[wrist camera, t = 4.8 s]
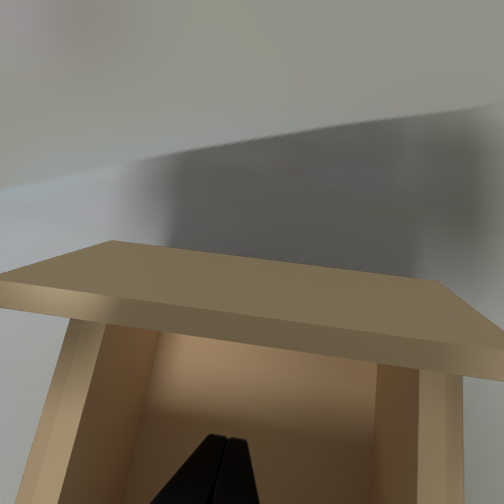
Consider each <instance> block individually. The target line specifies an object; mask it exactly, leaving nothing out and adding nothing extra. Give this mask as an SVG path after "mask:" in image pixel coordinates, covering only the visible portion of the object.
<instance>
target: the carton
mask: <svg viewBox="0 0 504 504" xmlns="http://www.w3.org/2000/svg"><path fill="white" fill-rule="evenodd" d="M210 433H214V434H220V435H225V436H227V438H229V437H238V438H243V439H246V440H247V442H248V446H249V451H250V456H251V461H252V466H253V471H254V476H255V481H256V486H257V491H258V496H259V501H260V504H464V453H463V385H462V375H455V374H448V373H442V372H435V371H428V370H421V369H414V368H407V367H401V366H394V365H387V364H380V363H373V362H367V361H360V360H353V359H346V358H339V357H332V356H326V355H319V354H312V353H305V352H298V351H292V350H285V349H278V348H271V347H264V346H258V345H251V344H244V343H237V342H230V341H223V340H217V339H210V338H203V337H196V336H189V335H183V334H176V333H169V332H162V331H155V330H149V329H142V328H135V327H128V326H121V325H114V324H108V323H101V322H94V321H87V320H80V319H74V318H70V321H69V324H68V328H67V331H66V334H65V338H64V341H63V344H62V348H61V351H60V354H59V358H58V361H57V364H56V368H55V371H54V374H53V378H52V381H51V384H50V388H49V391H48V394H47V398H46V401H45V404H44V408H43V411H42V414H41V418H40V421H39V424H38V428H37V431H36V434H35V438H34V441H33V444H32V448H31V451H30V454H29V458H28V461H27V464H26V468H25V471H24V474H23V478H22V481H21V484H20V488H19V491H18V494H17V498H16V501H15V504H149V503H150V502H151V501H152V499H153V498H154V497H155V496H156V495H157V494H158V492H159V491H160V490H161V489H162V488H163V487H164V485H165V484H166V483H167V482H168V481H169V480H170V478H171V477H172V476H173V475H174V474H175V473H176V471H177V470H178V469H179V468H180V467H181V466H182V464H183V463H184V462H185V461H186V460H187V458H188V457H189V456H190V455H191V454H192V453H193V451H194V450H195V449H196V448H197V447H198V446H199V444H200V443H201V442H202V441H203V440H204V439H205V437H206V436H207V435H208V434H210Z"/></svg>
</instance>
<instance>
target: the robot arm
mask: <svg viewBox="0 0 504 504" xmlns="http://www.w3.org/2000/svg"><path fill="white" fill-rule="evenodd" d="M149 504H260V501H259V496H258V491H257V486H256V481H255V476H254V471H253V466H252V461H251V456H250V451H249V446H248V442H247V440H246V439H243V438H238V437H229V438H227V436H225V435H220V434H214V433H210V434H208V435H207V436H206V437H205V439H204V440H203V441H202V442H201V443H200V444H199V446H198V447H197V448H196V449H195V450H194V451H193V453H192V454H191V455H190V456H189V457H188V458H187V460H186V461H185V462H184V463H183V464H182V466H181V467H180V468H179V469H178V470H177V471H176V473H175V474H174V475H173V476H172V477H171V478H170V480H169V481H168V482H167V483H166V484H165V485H164V487H163V488H162V489H161V490H160V491H159V492H158V494H157V495H156V496H155V497H154V498H153V499H152V501H151V502H150V503H149Z"/></svg>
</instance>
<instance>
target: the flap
mask: <svg viewBox="0 0 504 504" xmlns="http://www.w3.org/2000/svg"><path fill="white" fill-rule="evenodd" d="M0 308H5V309H12V310H19V311H26V312H33V313H39V314H46V315H53V316H60V317H67V318H74V319H80V320H87V321H94V322H101V323H108V324H114V325H121V326H128V327H135V328H142V329H149V330H155V331H162V332H169V333H176V334H183V335H189V336H196V337H203V338H210V339H217V340H223V341H230V342H237V343H244V344H251V345H258V346H264V347H271V348H278V349H285V350H292V351H298V352H305V353H312V354H319V355H326V356H332V357H339V358H346V359H353V360H360V361H367V362H373V363H380V364H387V365H394V366H401V367H407V368H414V369H421V370H428V371H435V372H442V373H448V374H455V375H462V376H469V377H476V378H482V379H489V380H496V381H503V382H504V331H503V330H501V329H500V328H499V327H497V326H496V325H495V324H494V323H492V322H491V321H490V320H488V319H487V318H486V317H484V316H483V315H482V314H480V313H479V312H478V311H476V310H475V309H474V308H473V307H471V306H470V305H469V304H467V303H466V302H465V301H463V300H462V299H461V298H459V297H458V296H457V295H455V294H454V293H453V292H451V291H450V290H449V289H448V288H446V287H445V286H444V285H442V284H441V283H440V282H438V281H435V280H427V279H419V278H411V277H403V276H395V275H387V274H379V273H371V272H362V271H354V270H346V269H338V268H330V267H322V266H314V265H306V264H298V263H290V262H282V261H274V260H266V259H258V258H250V257H242V256H234V255H226V254H218V253H210V252H202V251H194V250H186V249H178V248H170V247H162V246H154V245H146V244H138V243H130V242H122V241H114V240H111V241H107V242H104V243H101V244H97V245H94V246H91V247H87V248H84V249H81V250H77V251H74V252H71V253H67V254H64V255H61V256H57V257H54V258H51V259H47V260H44V261H41V262H38V263H34V264H31V265H28V266H24V267H21V268H18V269H14V270H11V271H8V272H4V273H1V274H0Z"/></svg>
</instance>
